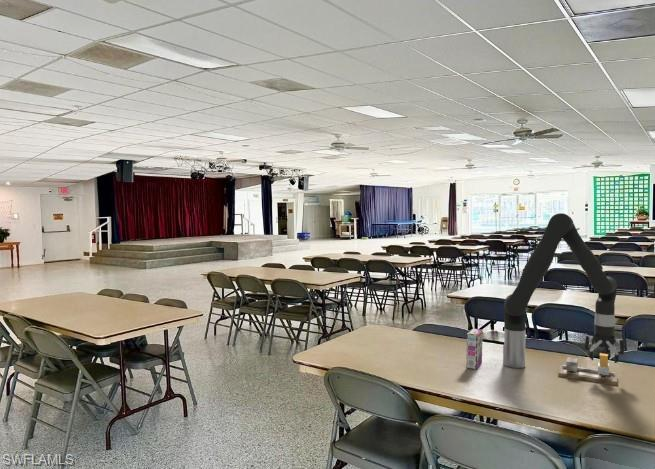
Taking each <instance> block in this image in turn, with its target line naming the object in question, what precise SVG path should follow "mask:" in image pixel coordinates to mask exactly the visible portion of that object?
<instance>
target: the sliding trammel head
mask: <svg viewBox="0 0 655 469" xmlns="http://www.w3.org/2000/svg"><path fill="white" fill-rule="evenodd" d="M597 364H598V365H597V370H598V374H602V376H605V375H609V372H610V363H609V354H608V353H602V352H600V353H599V361H598V363H597Z"/></svg>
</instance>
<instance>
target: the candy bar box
mask: <svg viewBox="0 0 655 469" xmlns="http://www.w3.org/2000/svg"><path fill="white" fill-rule="evenodd" d="M483 337H484V335H483V329H479V328H472V329H470V331H469V332H467V333H466V366H465V367H466V369H469V370H473V371H474V370H476V371H477V370H478V368H479V367H480V366H481V365H482V363H483Z"/></svg>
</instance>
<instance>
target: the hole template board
mask: <svg viewBox="0 0 655 469" xmlns="http://www.w3.org/2000/svg"><path fill="white" fill-rule="evenodd" d="M578 361H579V359H578V358H576V357H575V358H574V357H567V358H566V361H565V362H566V365H565V364H562V365H560V366H559V369H558V374H557V376H558V377H561V378H567V379H574V380H578V381H579V380H582V381H586V382H594V383H601V384H606V385H613V386H618V374H617V373H615V371H609V375H605V376H602V374H598V369H594V368H587V367H582V366H581V367H579V365H578V364H579V362H578Z"/></svg>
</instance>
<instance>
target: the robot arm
mask: <svg viewBox="0 0 655 469" xmlns="http://www.w3.org/2000/svg"><path fill="white" fill-rule="evenodd" d="M580 235H581V234H580V233H579V231H578V230H577V227H576V226H575V223H574V220H573V218H572V217H571V216H569V215H568V214H567V213H563V212H559V213H555V214H553V215H552V216H551V217H550V219H549V221H548V224H547V226H546V228H545V230H544V232H543V235H542V237H541V239H540V240H539V242H538V243H537V245H536V246H535V248H534V250H533V252H532V253H531V255H530V256H529V258H528V260H527V262H526V264H525V265H524V268H523V270H522V272H521V276H520V278H519V282H518V284H517V286H516V287H515V289H514V290H513V292H512V293H511V294H509V295H507V296H506V298H505V299H504V307H503V309H504V312H503V313H504V317H503V318H504V320H503V321H504V323H503V324H504V330H503V331H504V333H503V334H504V340H503V341H504V344H503V346H502V347H503V348H502V349H503V350H502V356H503V357H502V358H503V359H502V362H503V363H502V366H505V367H508V368H513V369H522V368H525V367H526V334H527V332H526V331H527V330H526V329H527V328H526V326H527V324H526V323H527V322H526V310H527V307H528V305H529V302H530V300H531V298H532V296H533V294H534V292H535V291H536V290H537V288H538V286H539V284H540V283H541V282H542V280H543V279H544V277H545V275H546V274H547V272H548V270H549V269H550V267H551V265H552V263H553V260H554V257H555V254H556V251H557V248H558V246H559V245H560V242H561V241H562V240H563V241H564V242H565V244H566V245H567V246H568V247H569V249H570V251H571V253H572V254H573V256H574V257H575V260H577V261H576V262H578V264H579V266H580V267H581V268H582V270H583V272H584V273H585V274H586V276H587V278H588V280H589V283H590V285H591V286H592V288H593V289H594V291H595V292H596V293H597V294H598V297H597V299H596V301H595V309H594V310H595V313H594V321H593V323H594V325H593V326H594V327H593V330H594V331H593V333H594V334H593V335H589V334H586V336H585V342H584V343H585V344H584V349H585V350H587V351H589V359H590V360H591V361H594V350H595V349H597V348H598V347H599V348H604V349H611V350H612V352H613V353H614V364H617V363H619V358H620V357H619V356H620V355H624V353H625V351H624V350H625V349H624V348H625V347H624V339H623V338H616V336H615V335H616V329H615V328H616V316H615V310H616V309H615V302H616V298H617V291H618V285H617V281H616V279H614V278H613V277H611V276H606V273H605V272H604V271H603V270H604V269H603V265H602V263H601V262H600V260H599V259H598V258H597V256H596V255H595V254H594V253H593V251H592V250H591V249H590V247H588V245H587V244H586V243H585V241H584V240H583V239H582V237H581V236H580ZM592 340H593V341H594V343H593V345H591V346H589V343H590V342H591V341H592ZM615 343H617V344H618V345H619V350H618V349H617V348H616V346H615V345H614V344H615Z"/></svg>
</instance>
